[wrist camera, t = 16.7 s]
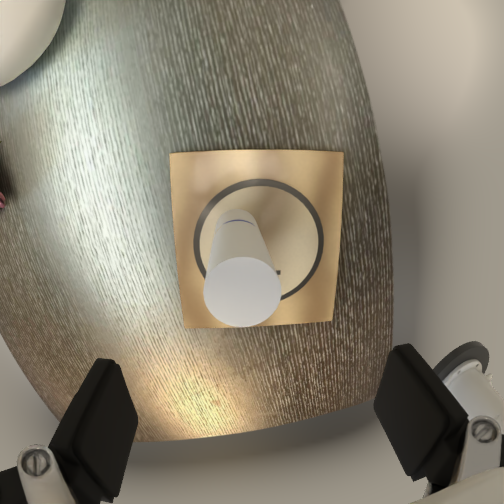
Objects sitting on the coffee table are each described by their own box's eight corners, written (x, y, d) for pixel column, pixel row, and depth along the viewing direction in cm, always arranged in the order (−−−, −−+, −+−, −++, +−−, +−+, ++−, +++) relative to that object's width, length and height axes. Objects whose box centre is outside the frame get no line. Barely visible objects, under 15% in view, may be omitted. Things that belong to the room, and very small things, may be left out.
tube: (235, 257, 31) (239, 339, 17) (207, 228, 30) (187, 291, 16) (266, 230, 31) (296, 295, 16) (238, 200, 29) (245, 240, 15)
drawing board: (340, 152, 30) (345, 151, 28) (330, 316, 36) (333, 322, 35) (171, 153, 29) (168, 153, 27) (185, 324, 35) (184, 330, 34)
